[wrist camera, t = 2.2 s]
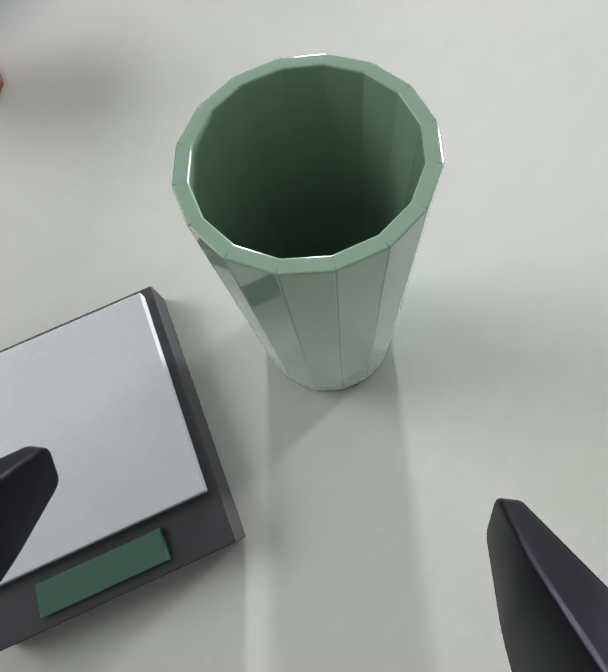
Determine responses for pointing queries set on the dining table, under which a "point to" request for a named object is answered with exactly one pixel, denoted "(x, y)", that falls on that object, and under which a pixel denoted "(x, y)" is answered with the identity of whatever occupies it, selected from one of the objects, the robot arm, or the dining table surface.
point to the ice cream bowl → (1, 82)
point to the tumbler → (312, 206)
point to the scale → (109, 463)
